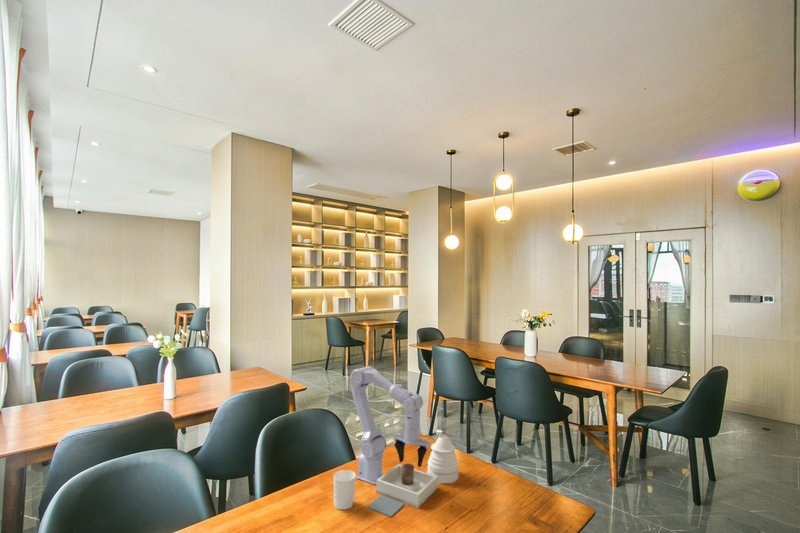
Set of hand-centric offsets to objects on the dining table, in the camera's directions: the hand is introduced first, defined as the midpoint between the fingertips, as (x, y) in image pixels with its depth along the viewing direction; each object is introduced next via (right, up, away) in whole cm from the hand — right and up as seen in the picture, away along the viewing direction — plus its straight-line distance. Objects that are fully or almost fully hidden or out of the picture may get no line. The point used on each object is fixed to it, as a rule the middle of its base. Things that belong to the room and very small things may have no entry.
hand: (410, 463), depth 144 cm
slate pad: (-9, -9, -11) cm, 17 cm away
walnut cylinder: (-1, -7, 0) cm, 7 cm away
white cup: (-24, -9, -11) cm, 28 cm away
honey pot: (+14, -12, +12) cm, 22 cm away
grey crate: (-1, -10, 0) cm, 10 cm away
